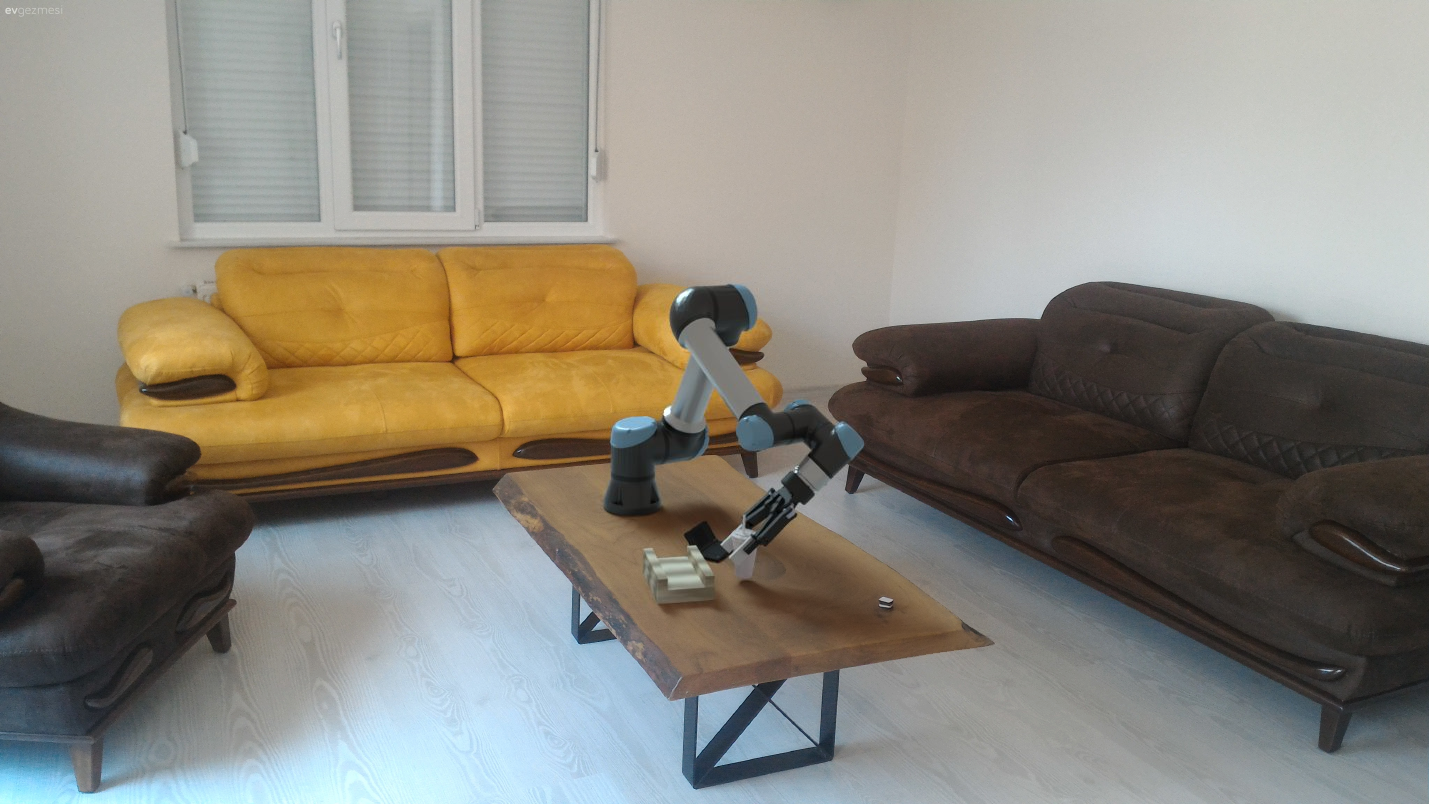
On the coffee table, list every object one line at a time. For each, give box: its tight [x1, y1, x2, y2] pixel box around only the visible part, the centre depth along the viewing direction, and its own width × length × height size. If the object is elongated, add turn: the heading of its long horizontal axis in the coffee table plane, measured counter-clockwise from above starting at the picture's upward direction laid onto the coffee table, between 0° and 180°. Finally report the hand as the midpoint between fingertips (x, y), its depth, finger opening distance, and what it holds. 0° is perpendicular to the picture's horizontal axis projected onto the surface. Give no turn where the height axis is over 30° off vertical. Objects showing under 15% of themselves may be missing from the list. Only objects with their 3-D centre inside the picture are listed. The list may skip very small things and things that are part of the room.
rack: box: [642, 545, 716, 605], centre depth 220 cm, size 17×12×6 cm
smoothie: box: [730, 514, 758, 579], centre depth 223 cm, size 6×6×14 cm
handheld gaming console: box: [683, 519, 734, 563], centre depth 240 cm, size 12×7×10 cm
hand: (729, 554), depth 222 cm, fingers closed on smoothie, 6 cm apart
